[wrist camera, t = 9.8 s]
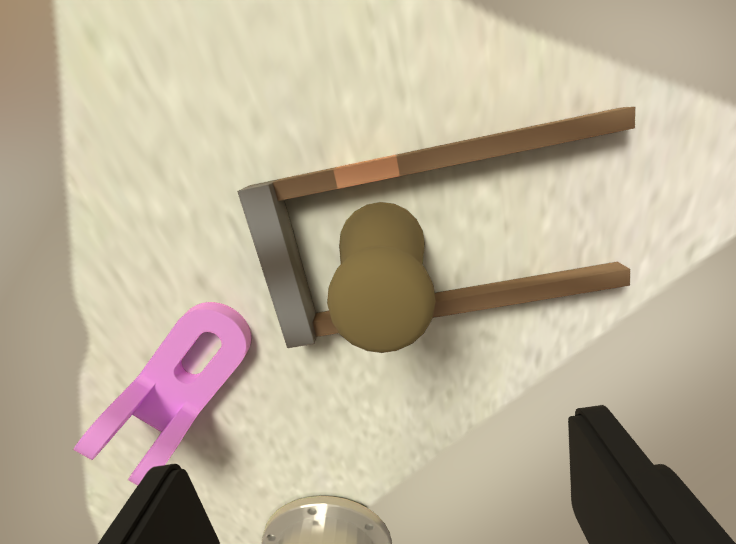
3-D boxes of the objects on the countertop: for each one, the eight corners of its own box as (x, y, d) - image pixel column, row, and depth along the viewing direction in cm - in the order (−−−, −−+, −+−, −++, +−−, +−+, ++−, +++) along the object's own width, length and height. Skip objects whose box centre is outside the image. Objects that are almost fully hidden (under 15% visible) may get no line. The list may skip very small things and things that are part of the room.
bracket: (183, 428, 34) (137, 499, 28) (127, 394, 33) (65, 460, 27) (265, 329, 31) (233, 385, 24) (204, 287, 29) (153, 334, 23)
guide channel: (617, 277, 28) (638, 291, 25) (294, 330, 30) (287, 348, 28) (620, 107, 24) (646, 105, 22) (250, 185, 26) (237, 191, 24)
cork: (441, 252, 28) (476, 328, 17) (374, 299, 29) (369, 394, 19) (390, 184, 26) (395, 222, 16) (321, 237, 28) (285, 304, 17)
